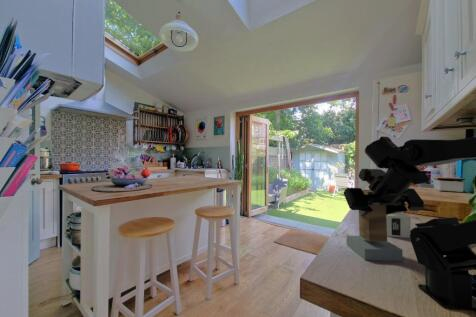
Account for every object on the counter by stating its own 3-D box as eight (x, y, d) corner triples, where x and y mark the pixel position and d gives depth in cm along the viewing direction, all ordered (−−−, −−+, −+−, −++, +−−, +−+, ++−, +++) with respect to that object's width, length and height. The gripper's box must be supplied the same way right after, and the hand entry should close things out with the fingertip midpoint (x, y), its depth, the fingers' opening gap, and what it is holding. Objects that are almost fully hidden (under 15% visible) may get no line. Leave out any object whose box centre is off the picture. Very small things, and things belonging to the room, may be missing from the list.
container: (411, 238, 72) (411, 201, 72) (386, 236, 74) (386, 200, 74) (398, 231, 80) (398, 197, 80) (376, 229, 81) (376, 196, 81)
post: (387, 241, 58) (385, 191, 59) (369, 241, 58) (367, 191, 59) (375, 235, 63) (374, 189, 64) (359, 235, 63) (358, 189, 64)
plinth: (402, 260, 55) (402, 249, 56) (364, 260, 56) (364, 248, 56) (378, 245, 65) (378, 236, 66) (346, 245, 66) (346, 235, 66)
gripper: (414, 159, 57) (387, 193, 68) (346, 159, 57) (330, 193, 68) (442, 191, 49) (406, 224, 60) (362, 191, 49) (341, 223, 60)
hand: (369, 214), depth 62 cm, fingers closed on post, 5 cm apart
